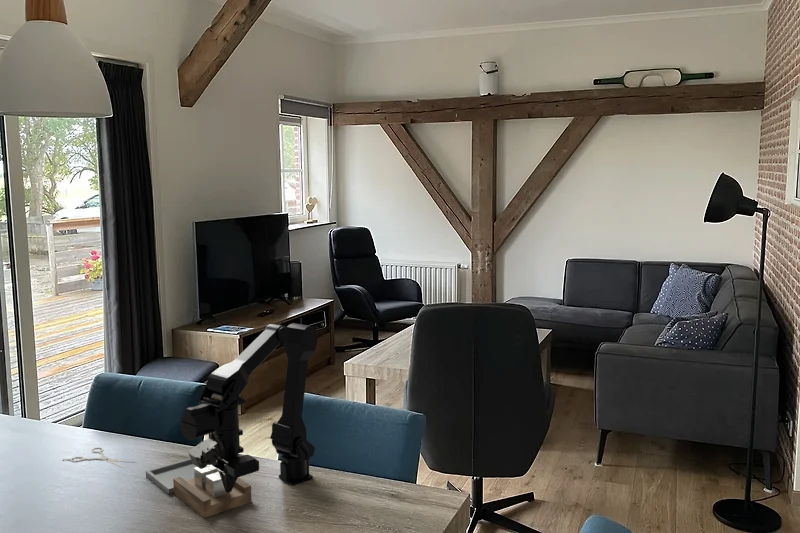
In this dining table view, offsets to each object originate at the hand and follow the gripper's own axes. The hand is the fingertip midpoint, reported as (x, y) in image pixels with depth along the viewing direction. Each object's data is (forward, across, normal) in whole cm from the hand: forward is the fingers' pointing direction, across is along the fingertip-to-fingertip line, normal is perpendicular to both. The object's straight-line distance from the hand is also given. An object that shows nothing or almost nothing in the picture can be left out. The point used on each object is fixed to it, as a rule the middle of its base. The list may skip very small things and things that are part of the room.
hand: (228, 491), depth 160 cm
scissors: (+5, -49, -11) cm, 51 cm away
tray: (+4, -24, 0) cm, 24 cm away
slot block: (+4, -8, 0) cm, 9 cm away
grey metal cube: (+2, -11, 0) cm, 11 cm away
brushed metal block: (+2, -5, 0) cm, 6 cm away
